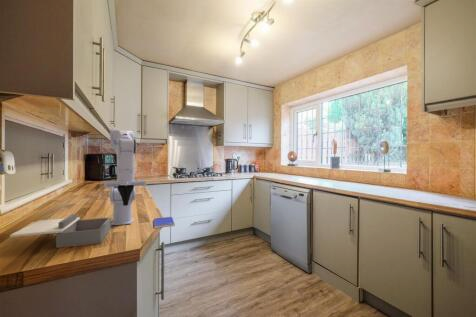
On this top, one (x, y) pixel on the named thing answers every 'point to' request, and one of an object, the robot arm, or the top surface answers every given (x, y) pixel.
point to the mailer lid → (47, 226)
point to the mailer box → (84, 232)
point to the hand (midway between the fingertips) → (125, 205)
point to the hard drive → (163, 222)
